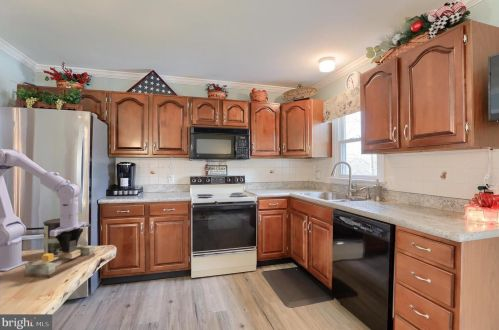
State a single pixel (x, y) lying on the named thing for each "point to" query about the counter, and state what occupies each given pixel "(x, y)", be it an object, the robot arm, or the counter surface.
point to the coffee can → (51, 237)
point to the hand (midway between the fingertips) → (69, 249)
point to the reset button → (47, 257)
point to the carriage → (70, 251)
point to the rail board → (58, 264)
